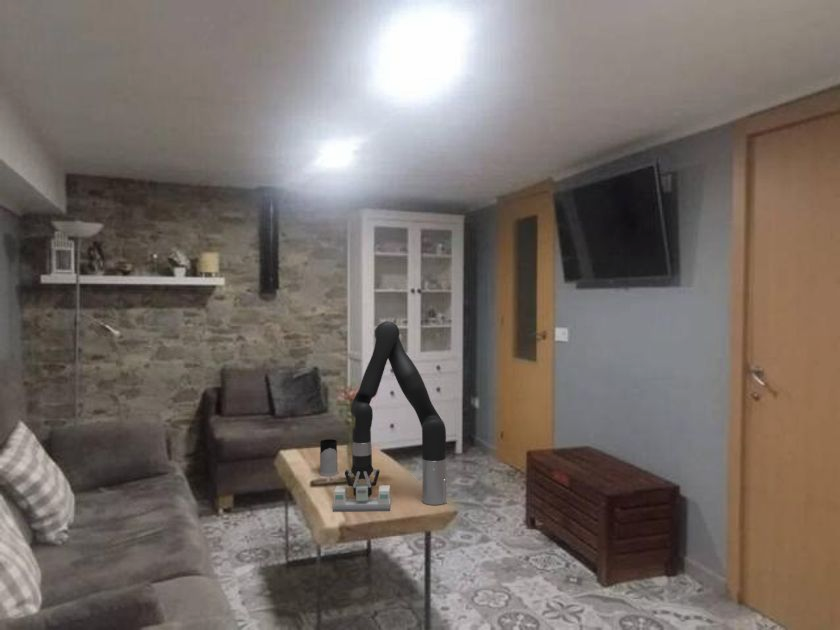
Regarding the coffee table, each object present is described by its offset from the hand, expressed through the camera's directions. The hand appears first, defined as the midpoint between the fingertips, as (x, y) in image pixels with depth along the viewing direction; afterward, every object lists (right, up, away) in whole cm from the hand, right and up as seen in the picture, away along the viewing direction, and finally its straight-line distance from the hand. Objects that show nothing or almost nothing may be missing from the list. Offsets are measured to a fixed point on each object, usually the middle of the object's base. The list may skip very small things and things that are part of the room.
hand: (362, 496), depth 231 cm
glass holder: (-20, -3, +46) cm, 50 cm away
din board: (0, -4, 0) cm, 4 cm away
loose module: (0, -1, 0) cm, 1 cm away
